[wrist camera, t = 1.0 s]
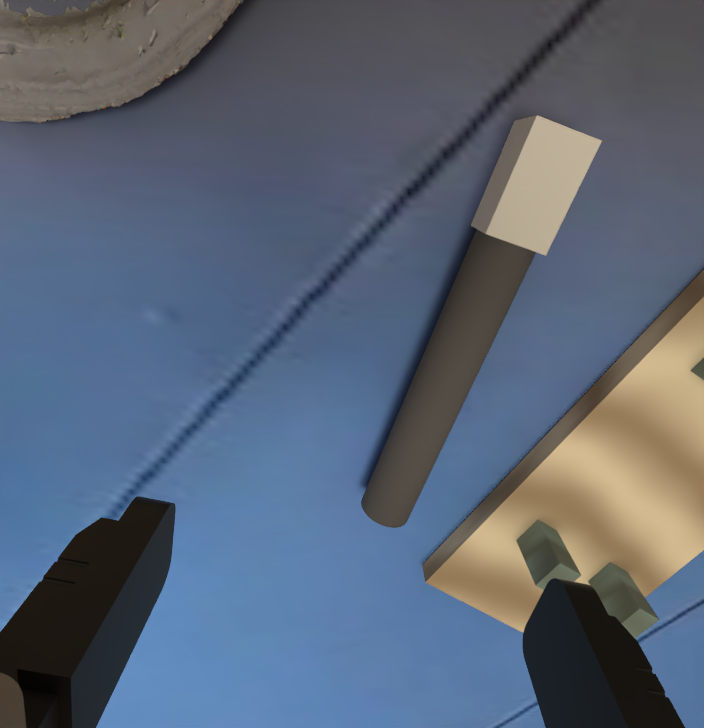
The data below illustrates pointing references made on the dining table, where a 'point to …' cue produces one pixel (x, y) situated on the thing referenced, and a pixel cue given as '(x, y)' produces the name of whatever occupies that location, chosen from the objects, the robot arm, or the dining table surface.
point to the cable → (479, 301)
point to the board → (598, 489)
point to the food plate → (98, 53)
